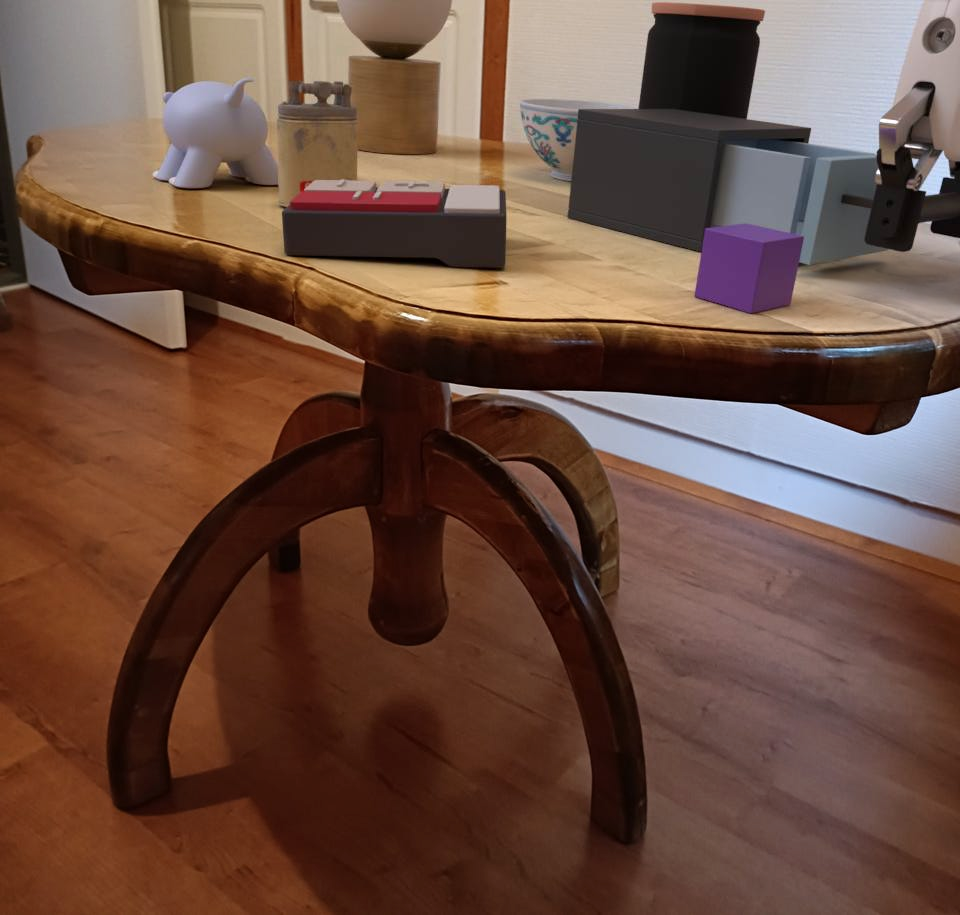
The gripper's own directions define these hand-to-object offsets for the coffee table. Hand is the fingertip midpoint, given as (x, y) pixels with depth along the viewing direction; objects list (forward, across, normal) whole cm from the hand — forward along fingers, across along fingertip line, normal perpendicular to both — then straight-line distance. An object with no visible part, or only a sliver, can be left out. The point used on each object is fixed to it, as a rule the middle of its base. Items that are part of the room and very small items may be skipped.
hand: (920, 241), depth 68 cm
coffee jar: (+3, +13, +31) cm, 34 cm away
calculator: (+3, -27, +25) cm, 37 cm away
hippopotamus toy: (+3, -26, +56) cm, 62 cm away
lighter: (+3, -24, +41) cm, 48 cm away
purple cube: (+3, -16, +3) cm, 17 cm away
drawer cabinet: (+3, 0, +21) cm, 22 cm away
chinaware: (+3, +13, +45) cm, 47 cm away
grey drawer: (+2, 0, +9) cm, 9 cm away
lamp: (+3, +7, +73) cm, 74 cm away
